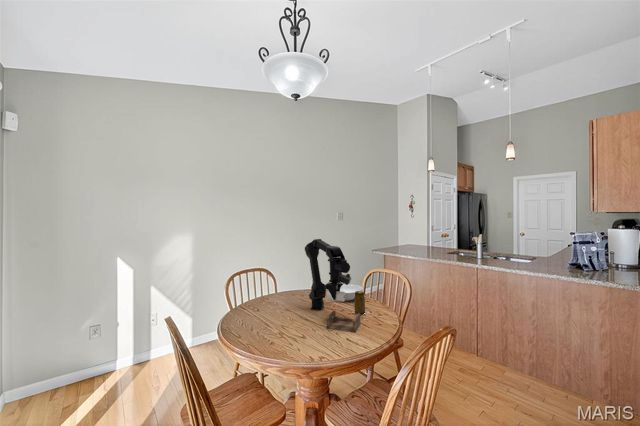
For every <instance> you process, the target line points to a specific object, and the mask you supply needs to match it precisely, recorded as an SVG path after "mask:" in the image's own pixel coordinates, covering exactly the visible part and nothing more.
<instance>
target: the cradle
mask: <svg viewBox="0 0 640 426" xmlns="http://www.w3.org/2000/svg"><path fill="white" fill-rule="evenodd" d="M325 319H326V320H325V321H326V330H333V331H334V330H335V331H336V330H337V331H341V332H342V331H343V332H351V333H356V332H357V330H358V329H359V327H360V325H361V315H360V313H358V314H355V317H354V318H350V317H343V316H342V317H341V316H336V310H332V312H330V313H329V315H328V316H327V317H326V318H325Z"/></svg>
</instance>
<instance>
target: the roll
mask: <svg viewBox="0 0 640 426" xmlns="http://www.w3.org/2000/svg"><path fill="white" fill-rule="evenodd" d="M326 299H327V301H330V302H331V301H332V302H345V301H346V300H345V292H341V291H337V292H336V300H333V298H332V296H331V294H330V292H329V290H328V291H326Z"/></svg>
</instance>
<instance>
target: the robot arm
mask: <svg viewBox="0 0 640 426" xmlns="http://www.w3.org/2000/svg"><path fill="white" fill-rule="evenodd" d="M320 250H321V251H322V252H324V253H325V255H326V257H328V259H327V262H328V263H329V272H328V275H329V280H328V282H326V283H323V281H322V278H321V272H320V266H319V260H318V256H319V254H320ZM304 252H305V255H306V257H307V258H308V260H309V265H310V271H311V278H312V285H311V287H310V288H311V291H310V292H309V294H308V298H309V299H310V300H311V307H310V309H311V310H312V311H313V310H315V311H321V310H323V308H325V303H324V302H325V301H324V299H326V296H327V290H328V291H329V292H330V294H331V296H332V298H333V300H336V292H337V291H340V288H341V286H342V285H345V284H346V285H348V284H350V283H351V280H352V277H351V274H349V272H350V269H351V265H350V263H349V262H348V260H347V259H346V257H345V255H344V253H343V251H342V248H341V247H340V246H336V245H331V244H329V243H327V242H325V241H324V240H322V239H321V238H314V239H313V240H312V241H311V242H309V243H307V244H306V245H305V246H304Z"/></svg>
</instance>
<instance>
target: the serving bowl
mask: <svg viewBox="0 0 640 426" xmlns="http://www.w3.org/2000/svg"><path fill="white" fill-rule="evenodd" d="M363 289H364V288H363V287H362V286H360V285H358V284H352V283H351V284H350V283H349V284H348V285H346V284H343V285H342V286H341V288H340V291H341V292H345V301H352V300H354V297H355V292H356V291H363ZM363 292H364V291H363Z"/></svg>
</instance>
